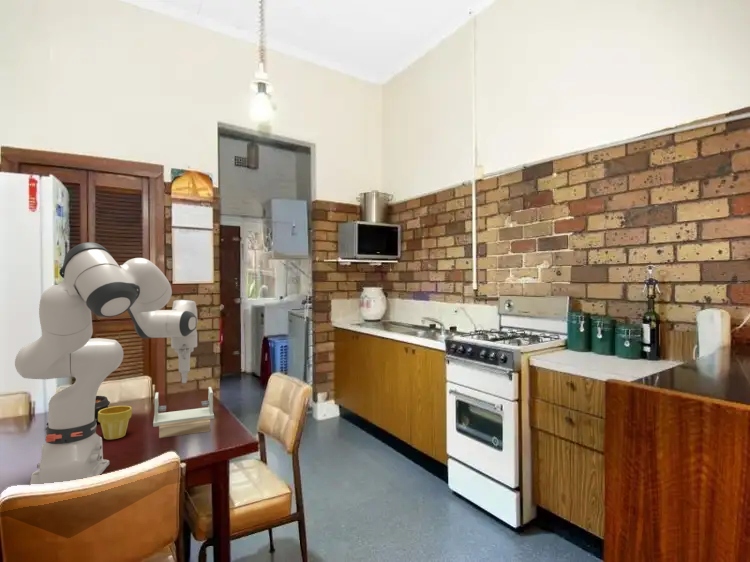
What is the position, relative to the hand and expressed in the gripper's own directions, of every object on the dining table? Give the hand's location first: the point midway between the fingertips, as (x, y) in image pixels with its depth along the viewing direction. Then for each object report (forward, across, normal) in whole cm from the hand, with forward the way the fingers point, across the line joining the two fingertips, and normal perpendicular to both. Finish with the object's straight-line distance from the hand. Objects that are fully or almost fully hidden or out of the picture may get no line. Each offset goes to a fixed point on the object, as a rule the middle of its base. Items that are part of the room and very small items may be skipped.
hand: (184, 379), depth 152 cm
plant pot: (+20, +6, +23) cm, 31 cm away
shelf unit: (+20, +18, 0) cm, 27 cm away
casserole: (+20, +30, +36) cm, 51 cm away
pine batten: (+20, 0, 0) cm, 20 cm away
